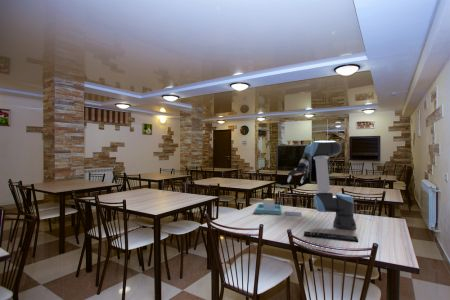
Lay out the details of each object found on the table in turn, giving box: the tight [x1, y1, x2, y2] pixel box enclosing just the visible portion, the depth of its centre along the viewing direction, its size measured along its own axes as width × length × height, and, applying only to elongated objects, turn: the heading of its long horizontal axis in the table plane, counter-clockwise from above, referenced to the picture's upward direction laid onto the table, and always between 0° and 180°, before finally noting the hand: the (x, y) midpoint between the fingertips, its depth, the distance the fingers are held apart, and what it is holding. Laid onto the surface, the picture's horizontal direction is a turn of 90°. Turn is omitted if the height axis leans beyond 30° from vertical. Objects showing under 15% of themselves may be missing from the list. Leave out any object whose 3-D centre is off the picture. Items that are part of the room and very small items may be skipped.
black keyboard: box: [303, 230, 359, 243], centre depth 163 cm, size 8×32×2 cm, turn 71°
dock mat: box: [284, 211, 303, 217], centre depth 218 cm, size 14×14×1 cm
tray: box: [254, 203, 283, 216], centre depth 229 cm, size 22×22×4 cm
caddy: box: [263, 198, 276, 210], centre depth 229 cm, size 7×7×10 cm
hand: (294, 182), depth 230 cm, fingers open, 13 cm apart
